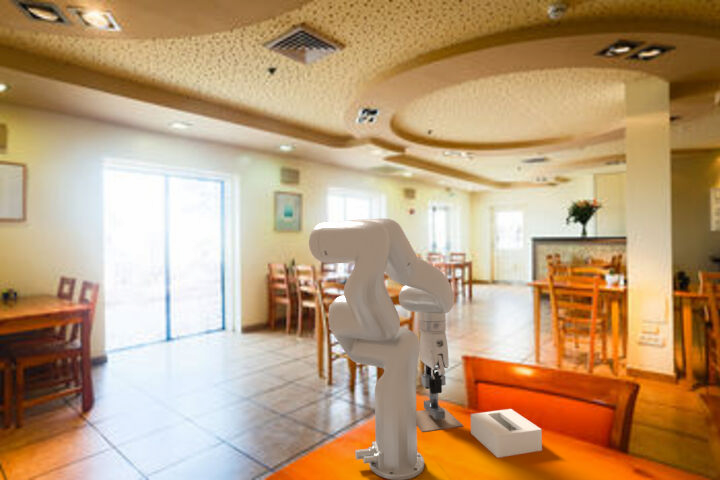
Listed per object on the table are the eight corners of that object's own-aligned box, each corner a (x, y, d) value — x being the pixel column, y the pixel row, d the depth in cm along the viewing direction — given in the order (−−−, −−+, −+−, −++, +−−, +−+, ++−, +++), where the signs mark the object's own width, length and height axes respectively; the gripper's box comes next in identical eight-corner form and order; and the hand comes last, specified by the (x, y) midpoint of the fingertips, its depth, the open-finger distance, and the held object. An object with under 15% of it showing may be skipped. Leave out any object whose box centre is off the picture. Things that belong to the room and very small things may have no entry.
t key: (450, 417, 108) (449, 379, 108) (430, 420, 106) (429, 381, 106) (437, 405, 116) (437, 370, 116) (418, 408, 114) (418, 372, 114)
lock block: (497, 461, 91) (497, 435, 91) (471, 437, 103) (470, 414, 103) (541, 454, 94) (541, 429, 94) (511, 431, 106) (510, 408, 106)
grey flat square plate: (422, 435, 104) (422, 431, 104) (406, 416, 115) (406, 412, 115) (463, 430, 107) (463, 425, 107) (443, 411, 118) (443, 407, 118)
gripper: (458, 330, 104) (459, 400, 104) (432, 319, 120) (433, 379, 120) (431, 332, 102) (433, 403, 102) (409, 320, 118) (410, 382, 118)
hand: (433, 389), depth 111 cm, fingers closed on t key, 3 cm apart
